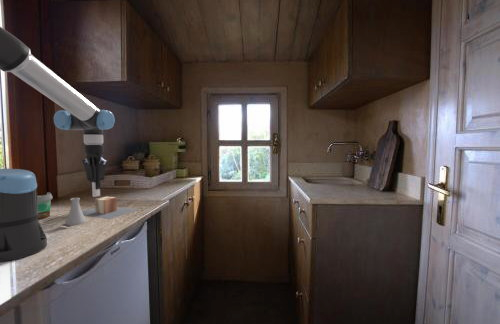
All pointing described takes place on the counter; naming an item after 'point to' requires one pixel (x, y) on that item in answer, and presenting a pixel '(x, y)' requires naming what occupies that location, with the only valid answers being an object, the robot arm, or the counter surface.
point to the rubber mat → (117, 213)
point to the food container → (44, 205)
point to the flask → (75, 213)
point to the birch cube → (105, 205)
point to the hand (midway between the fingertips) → (96, 196)
